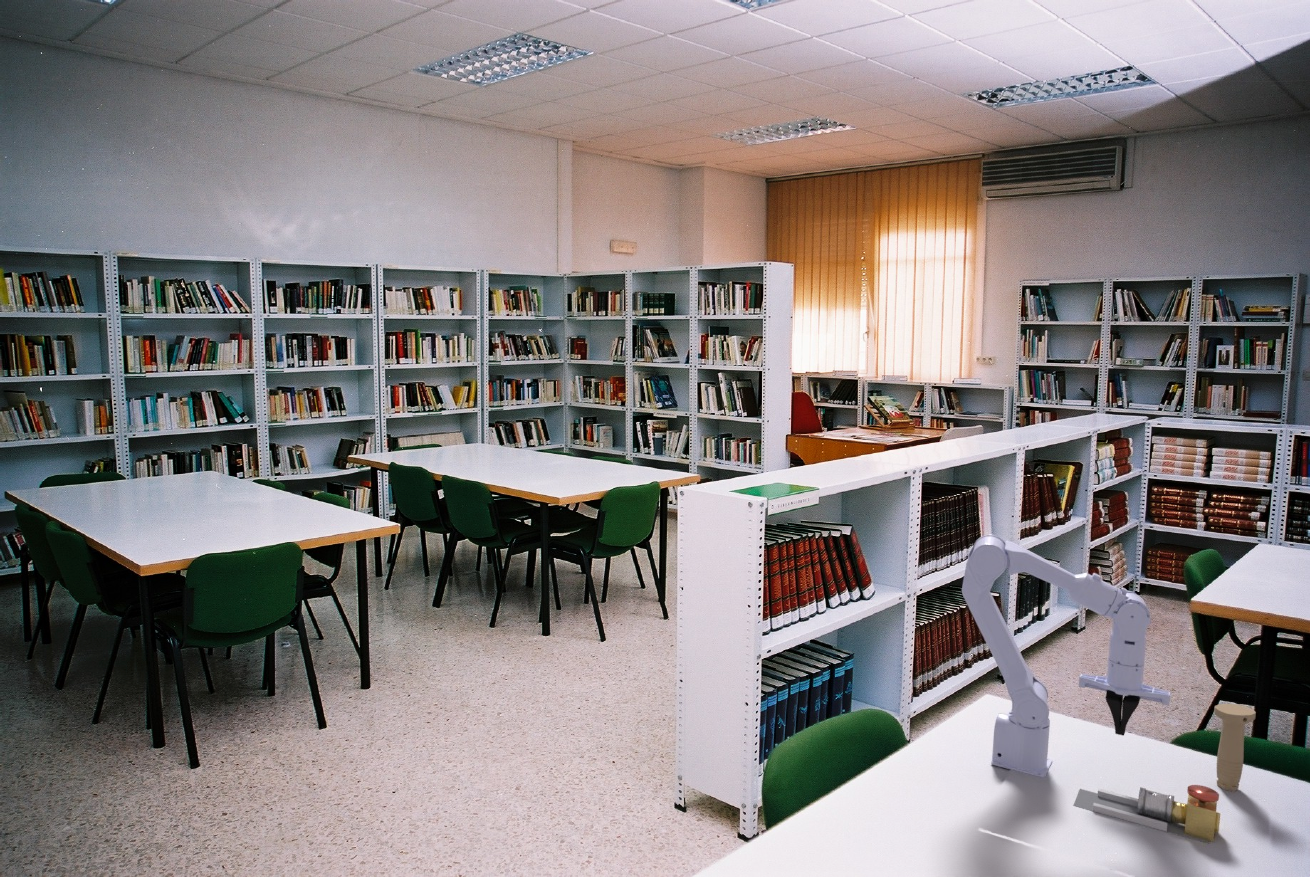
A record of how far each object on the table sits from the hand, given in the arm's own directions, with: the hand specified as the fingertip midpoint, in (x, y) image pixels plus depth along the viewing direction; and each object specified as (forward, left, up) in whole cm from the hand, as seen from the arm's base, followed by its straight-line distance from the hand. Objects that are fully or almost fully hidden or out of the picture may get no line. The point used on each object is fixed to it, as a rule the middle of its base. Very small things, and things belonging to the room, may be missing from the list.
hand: (1120, 732), depth 162 cm
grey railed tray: (+5, -11, -9) cm, 15 cm away
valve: (+14, -11, -9) cm, 20 cm away
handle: (+17, +9, -10) cm, 21 cm away
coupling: (+7, -11, -9) cm, 16 cm away
